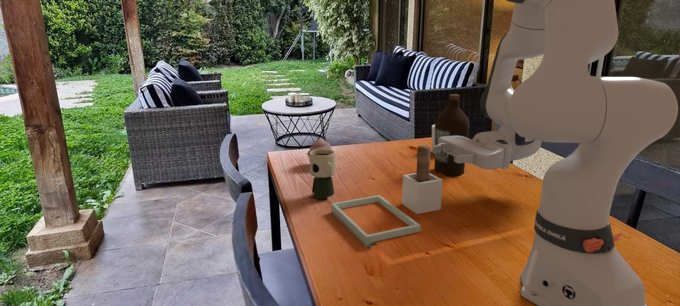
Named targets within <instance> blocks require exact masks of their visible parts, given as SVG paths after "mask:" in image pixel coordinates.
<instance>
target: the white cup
mask: <svg viewBox="0 0 680 306" xmlns="http://www.w3.org/2000/svg"><path fill="white" fill-rule="evenodd" d="M431 143H432V144H431V147H432V146H435V124H432V125H431ZM431 152H432V151H431ZM432 154H433V155H435V153H434V152H432Z"/></svg>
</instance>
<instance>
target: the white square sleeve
mask: <svg viewBox="0 0 680 306" xmlns="http://www.w3.org/2000/svg"><path fill="white" fill-rule="evenodd" d="M401 191H402V193H401V194H402V195H401V196H402V197H401V204H402V205H403V206H405V208H408V209H409V210H411V211H412V212H413V213H414V214H416V215H420V214H423V213H424V214H425V213H428V212H434V211H440V210H442V198H443V197H442V194H443V179H442V178H440V177H438V176H436V175H434V174H432V173H430V172H429V181H426V182H420V183H419V182H417V181H416V172H414V173H408V174H407V173H406V174H403V175H402V190H401Z"/></svg>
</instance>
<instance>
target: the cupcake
mask: <svg viewBox="0 0 680 306" xmlns="http://www.w3.org/2000/svg"><path fill="white" fill-rule="evenodd" d="M311 144H312V145H311V146H310V147H309V150H308V151H307V153H306V155H307V156H308V158H310V157H309V153H310V151H312V150H316V149H330V150H332V145H331V144H330V142H328V141H326V140H325V139H323V138H322V137H318V140H315V141H314V142H313V143H311Z"/></svg>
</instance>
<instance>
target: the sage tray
mask: <svg viewBox="0 0 680 306" xmlns="http://www.w3.org/2000/svg"><path fill="white" fill-rule="evenodd" d="M374 203H378V204H380V205H381V206H383V208H385V209H387V210H388V211H390V213H392V214H393V215H395V217H397V218H398V219H400V221H402V222H403V223H405V224H406V225H408V226H404V227H403V226H402V227H399V228H393V229H389V230H384V231H380V232H375V233H371V234H368V233H367V232H365V231H364V230H363V229H362V228H361V227H360V226H359V225H358V224H357V223H356V222H355V221H354V220H353V219H352V218H351V217H350V216H348V215H347V213H345V212H344V210H343V209H346V208H347V209H348V208H353V207H357V206H363V205H369V204H374ZM330 208H331V210H330V211H331V212H330V213H331V214H333V215H332V216H334V217H335V218H336V219H337V220H338V221H339V222H340V223H341V224H342V225H343V226H344V227H345V228H346V229H347V230H348V231H349V232H350V233H351V234H352V235H353V236H354V237H355V238H356V239H357V240H358V241H359V242H360V243H361V244H362V245H363V246H364V247H365V248H368V247H374V246H377V245H378V244H377V243H376V242H379V241H384V240H389V239H394V238H396V237H397V238H398V237H403V236H406V235H411V234H414V233H415V234H416V233H420V232H421V230H422V228H421V227H422V225H421V224H420V223H418V222H417V221H415V220H414V219H412V218H411V217H410V216H409V215H408V214H406V213H404V211H402V210H400V209H399V208H398V207H397V206H396V205H393V204H392V203H391V202H390V201H388V200H387V199H386V198H384V197H383V196H382V195H380V194H379V195H378V194H377V195H372V196H371V195H370V196H367V197H360V198H356V199H354V198H353V199H350V200H344V201H338V202H332V203H331V207H330Z"/></svg>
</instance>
